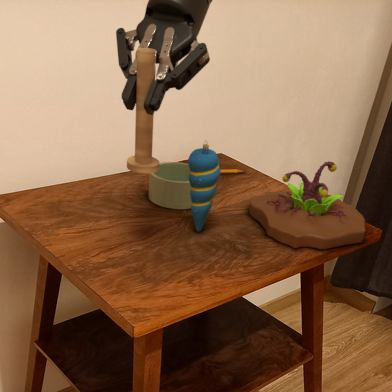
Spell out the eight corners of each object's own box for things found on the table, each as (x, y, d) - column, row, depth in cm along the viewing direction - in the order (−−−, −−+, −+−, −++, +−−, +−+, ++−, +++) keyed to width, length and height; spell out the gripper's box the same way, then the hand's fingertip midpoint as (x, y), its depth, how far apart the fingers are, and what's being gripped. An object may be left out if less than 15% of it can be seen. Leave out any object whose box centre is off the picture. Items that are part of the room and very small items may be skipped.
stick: (122, 170, 75) (123, 49, 66) (132, 160, 79) (135, 44, 69) (153, 176, 75) (159, 55, 65) (162, 165, 78) (169, 49, 69)
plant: (383, 246, 93) (404, 183, 86) (280, 253, 88) (294, 186, 81) (329, 199, 108) (344, 142, 101) (238, 202, 103) (247, 142, 96)
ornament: (192, 240, 89) (201, 147, 79) (176, 227, 92) (183, 137, 83) (218, 234, 91) (229, 144, 82) (202, 222, 94) (211, 134, 85)
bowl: (141, 203, 98) (142, 176, 95) (157, 183, 106) (158, 158, 103) (195, 213, 97) (198, 186, 94) (207, 192, 105) (210, 167, 102)
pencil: (156, 171, 110) (157, 170, 109) (243, 169, 116) (244, 169, 115) (156, 175, 110) (157, 174, 110) (243, 173, 116) (244, 172, 115)
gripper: (128, -39, 70) (79, 80, 68) (227, -24, 66) (179, 101, 65) (145, 6, 77) (102, 115, 75) (236, 22, 73) (192, 136, 72)
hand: (137, 108), depth 70 cm, fingers closed on stick, 2 cm apart
